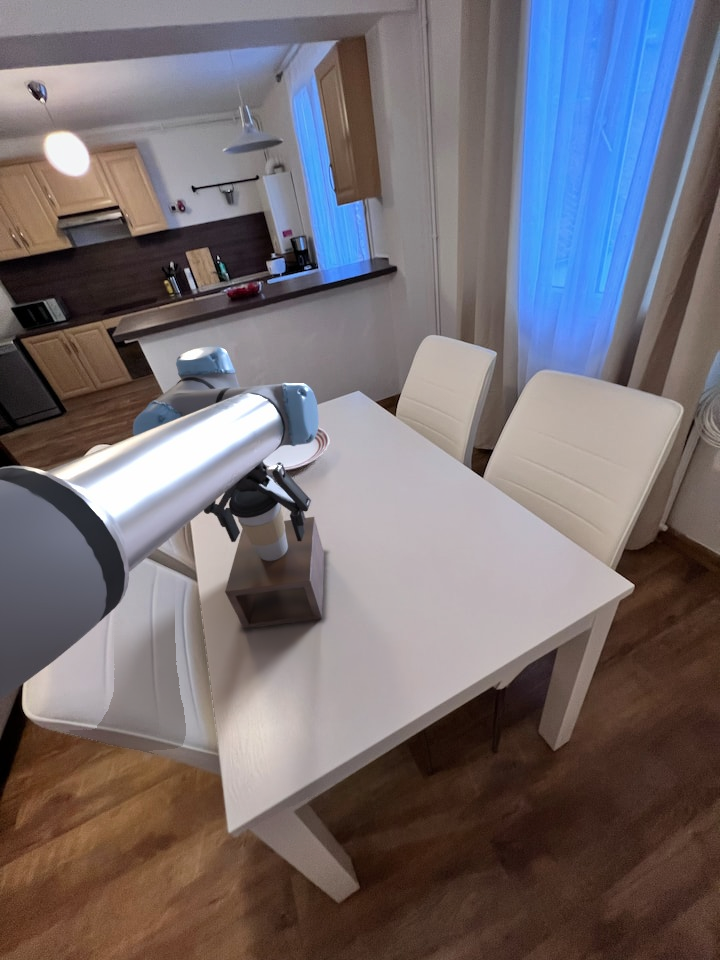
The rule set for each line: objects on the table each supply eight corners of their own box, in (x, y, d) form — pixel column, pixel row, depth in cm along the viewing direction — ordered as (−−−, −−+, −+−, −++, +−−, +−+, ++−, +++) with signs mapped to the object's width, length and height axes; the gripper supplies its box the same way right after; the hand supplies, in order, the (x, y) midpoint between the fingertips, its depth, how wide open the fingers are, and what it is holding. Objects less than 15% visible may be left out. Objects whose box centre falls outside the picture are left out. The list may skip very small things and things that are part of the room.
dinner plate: (337, 464, 125) (335, 455, 123) (250, 486, 122) (246, 477, 120) (323, 426, 147) (322, 418, 145) (249, 443, 144) (246, 435, 142)
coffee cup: (292, 529, 86) (273, 471, 77) (300, 558, 78) (281, 499, 69) (248, 543, 84) (224, 485, 75) (252, 574, 76) (227, 515, 68)
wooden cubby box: (322, 618, 80) (310, 580, 73) (243, 628, 81) (224, 591, 74) (324, 553, 95) (314, 516, 88) (257, 562, 95) (242, 526, 89)
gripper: (311, 428, 67) (333, 522, 79) (176, 436, 72) (217, 524, 84) (300, 452, 61) (326, 550, 74) (154, 459, 66) (201, 551, 78)
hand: (268, 536), depth 79 cm, fingers open, 13 cm apart
